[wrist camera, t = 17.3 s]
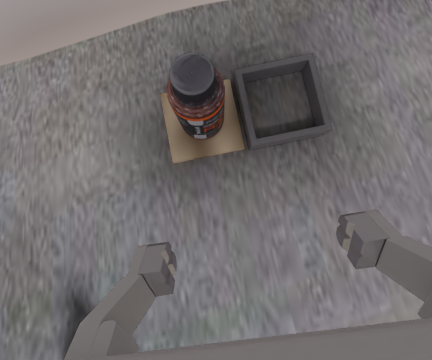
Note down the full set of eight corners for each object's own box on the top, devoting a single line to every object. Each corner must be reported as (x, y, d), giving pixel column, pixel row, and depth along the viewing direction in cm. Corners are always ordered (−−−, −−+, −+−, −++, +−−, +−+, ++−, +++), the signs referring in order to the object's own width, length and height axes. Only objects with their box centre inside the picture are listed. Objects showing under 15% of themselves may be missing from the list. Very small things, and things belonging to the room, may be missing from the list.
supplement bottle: (211, 148, 30) (205, 118, 18) (173, 129, 30) (144, 88, 19) (231, 110, 30) (237, 58, 19) (194, 92, 30) (177, 30, 19)
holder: (305, 64, 31) (313, 52, 29) (323, 135, 30) (332, 129, 28) (233, 79, 31) (234, 69, 29) (249, 150, 31) (251, 146, 28)
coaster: (229, 82, 31) (229, 78, 30) (243, 149, 31) (244, 147, 30) (161, 96, 32) (159, 93, 31) (174, 163, 31) (172, 162, 30)
